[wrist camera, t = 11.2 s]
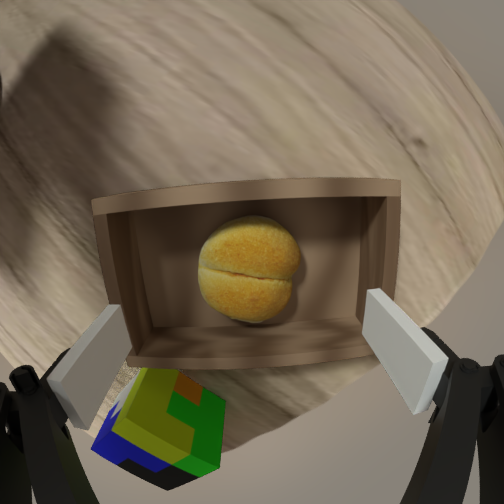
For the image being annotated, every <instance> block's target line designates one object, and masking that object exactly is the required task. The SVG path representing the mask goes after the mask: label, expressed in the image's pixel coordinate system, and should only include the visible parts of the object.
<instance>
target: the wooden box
mask: <svg viewBox="0 0 504 504" xmlns="http://www.w3.org/2000/svg"><path fill="white" fill-rule="evenodd" d="M91 204H92V212H93V220H94V227H95V234H96V240H97V246H98V252H99V258H100V263H101V268H102V273H103V278H104V282H105V287H106V291H107V295H108V300H109V304H110V305H121V308H122V312H123V316H124V320H125V324H126V327H127V331H128V334H129V338H130V341H131V344H132V348H131V350H130V352H129V354H128V355H127V357H126V362H127V365H128V367H141V368H158V369H189V370H218V369H250V368H268V367H281V366H293V365H303V364H313V363H321V362H329V361H337V360H344V359H350V358H357V357H363V356H369V355H374V354H375V353H374V352H373V350H372V348H371V347H370V345H369V344H368V342H367V341H366V339H365V338H364V336H363V335H362V329H363V321H364V314H365V305H366V296H367V290H369V289H377V288H380V289H381V290H382V291H383V292H384V293H385V294H386V295H387V296H388V297H389V298H390V299H391V300H392V301H393V300H394V293H395V284H396V275H397V265H398V253H399V238H400V214H401V180H394V179H380V178H288V179H265V180H247V181H232V182H218V183H207V184H196V185H185V186H176V187H167V188H158V189H150V190H142V191H135V192H128V193H121V194H116V195H111V196H105V197H100V198H95V199H91ZM250 215H257V216H263V217H267V218H270V219H272V220H275V221H276V222H278V223H279V224H280V225H281V226H283V227H284V228H285V229H286V230H287V231H288V232H289V233H290V234H291V235H292V236H293V238H294V239H295V241H296V243H297V244H298V246H299V248H300V252H301V261H300V265H299V267H298V269H297V271H296V272H295V273H294V274H292V278H291V279H292V293H291V297H290V299H289V301H288V303H287V305H286V306H285V308H284V309H283V310H282V311H281V312H280V313H279V314H277V315H276V316H274V317H272V318H270V319H267V320H263V321H262V322H261V323H250V322H246V321H241V320H237V319H231V318H230V317H228V316H225V315H224V314H222V313H220V312H218V311H216V310H215V309H213V308H212V307H210V306H209V305H208V304H207V302H206V301H205V300H204V298H203V296H202V294H201V291H200V287H199V282H198V266H199V256H200V252H201V249H202V247H203V245H204V243H205V242H206V240H207V239H208V238H209V236H210V235H211V234H212V233H213V232H214V231H215V230H216V229H218V227H220V226H221V225H223V224H224V223H226V222H228V221H231V220H234V219H237V218H240V217H245V216H250Z"/></svg>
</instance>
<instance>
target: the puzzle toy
mask: <svg viewBox="0 0 504 504" xmlns="http://www.w3.org/2000/svg"><path fill="white" fill-rule="evenodd" d="M225 403H226V401H225V400H223V399H221V398H220V397H218V396H217V395H215V394H213V393H212V392H210V391H208V390H207V389H205V388H204V387H202V386H201V385H199V384H197V383H196V382H194V381H193V380H191V379H190V378H188V377H187V376H185V375H184V374H182V373H181V372H179V371H178V370H177V369H158V368H142V369H141V370H140V371H139V372H138V373H137V374H136V375H135V376H134V378H133V379H132V380H131V381H130V382H129V383H128V384H127V385H126V386H125V387H124V389H123V390H122V391H121V392H120V393H119V394H118V396H117V398H116V399H115V401H114V403H113V405H112V407H111V409H110V411H109V413H108V415H107V417H106V419H105V421H104V423H103V425H102V427H101V429H100V431H99V433H98V435H97V437H96V439H95V441H94V443H93V445H92V447H91V450H92V451H94V452H96V453H97V454H99V455H100V456H102V457H103V458H105V459H107V460H108V461H110V462H112V463H114V464H116V465H117V466H119V467H121V468H122V469H124V470H126V471H128V472H130V473H132V474H134V475H136V476H137V477H139V478H141V479H143V480H145V481H147V482H149V483H152V484H154V485H156V486H158V487H160V488H162V489H165V490H167V491H168V490H171V489H174V488H176V487H179V486H181V485H183V484H186V483H188V482H190V481H193V480H195V479H197V478H200V477H202V476H204V475H206V474H208V473H210V472H212V471H215V470H216V469H219V468H220V460H221V448H222V437H223V425H224V414H225Z"/></svg>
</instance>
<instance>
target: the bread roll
mask: <svg viewBox="0 0 504 504" xmlns="http://www.w3.org/2000/svg"><path fill="white" fill-rule="evenodd" d="M300 261H301V252H300V248H299V246H298V244H297V243H296V241H295V239H294V238H293V236H292V235H291V234H290V233H289V232H288V231H287V230H286V229H285V228H284V227H283V226H281V225H280V224H279V223H278V222H276V221H275V220H272V219H270V218H267V217H263V216H257V215H250V216H245V217H240V218H237V219H234V220H231V221H228V222H226V223H224V224H223V225H221V226H220V227H218V229H216V230H215V231H214V232H213V233H212V234H211V235H210V236H209V238H208V239H207V240H206V242H205V243H204V245H203V247H202V249H201V252H200V256H199V266H198V282H199V287H200V291H201V294H202V296H203V298H204V300H205V301H206V302H207V304H208V305H209V306H210V307H212V308H213V309H215V310H216V311H218V312H220V313H222V314H224V315H225V316H228V317H230V318H231V319H237V320H241V321H246V322H250V323H261V322H262V321H263V320H267V319H270V318H272V317H274V316H276V315H277V314H279V313H280V312H281V311H282V310H283V309H284V308H285V306H286V305H287V303H288V301H289V299H290V297H291V293H292V279H291V278H292V274H294V273H295V272H296V271H297V269H298V267H299V265H300Z"/></svg>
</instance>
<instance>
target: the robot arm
mask: <svg viewBox="0 0 504 504" xmlns="http://www.w3.org/2000/svg"><path fill="white" fill-rule="evenodd" d="M362 335H363V336H364V338H365V339H366V341H367V342H368V344H369V345H370V347H371V348H372V350H373V352H374V353H375V355H376V356H377V358H378V359H379V361H380V362H381V364H382V366H383V367H384V369H385V370H386V372H387V373H388V375H389V377H390V378H391V380H392V381H393V383H394V385H395V386H396V388H397V389H398V391H399V393H400V394H401V396H402V398H403V399H404V401H405V402H406V404H407V406H408V408H409V409H410V411H411V412H412V414H413V415H414V414H417V413H420V412H423V411H426V410H428V408H429V406H430V404H431V402H432V400H433V401H434V402H435V404H436V405H437V406H436V408H435V410H434V412H433V414H432V416H431V418H430V420H429V422H428V423H430V427H429V430H428V433H427V437H426V440H425V443H424V446H423V449H422V452H421V455H420V457H419V460H418V463H417V465H416V468H415V471H414V473H413V475H412V478H411V481H410V483H409V485H408V487H407V490H406V492H405V494H404V496H403V498H402V500H401V502H400V504H462V502H463V499H464V496H465V492H466V488H467V485H468V480H469V476H470V472H471V467H472V462H473V457H474V451H475V445H476V440H477V446H478V458H479V475H480V504H504V355H498V356H497V357H495V360H494V362H493V364H492V366H483V367H481V366H480V365H479V364H478V363H477V362H476V361H474V360H471V359H469V358H462V359H460V358H459V357H458V356H457V355H456V354H455V353H454V352H453V351H452V350H451V349H450V348H449V347H448V346H447V345H446V344H444V342H443V341H442V340H441V339H439V337H438V336H437V335H436V334H435V333H434V332H433V331H431V330H429V329H427V328H425V327H422V328H419V327H418V325H417V324H416V323H415V322H414V321H413V320H412V319H411V318H410V317H409V316H408V315H407V314H406V313H405V312H404V311H403V310H402V309H401V308H400V307H399V306H398V305H397V304H395V303H394V302H393V301H392V300H391V299H390V298H389V297H388V296H387V295H386V294H385V293H384V292H383V291H382V290H381V289H380V288H377V289H369V290H367V296H366V305H365V314H364V321H363V329H362ZM131 348H132V344H131V341H130V338H129V334H128V331H127V327H126V324H125V320H124V316H123V312H122V308H121V305H108V306H107V307H106V308H105V309H104V310H103V311H102V313H101V314H100V315H99V316H98V317H97V318H96V319H95V321H94V322H93V323H92V324H91V325H90V326H89V327H88V329H87V330H86V331H85V332H84V333H83V334H82V336H81V337H80V338H79V339H78V340H77V342H76V343H75V344H74V345H73V346H72V348H68V349H67V350H65V351H64V352H63V353H61V354H60V356H59V357H58V358H57V359H56V361H55V362H54V363H53V364H52V366H50V368H49V369H48V370H47V371H46V373H45V374H44V375H43V376H42V378H41V379H40V380H39V378H38V376H37V374H36V372H35V370H34V368H33V367H32V366H30V365H23V366H20V367H17V368H16V369H14V370H13V371H12V372H11V374H10V376H9V379H10V381H11V383H12V385H13V386H14V388H15V390H16V391H9V390H8V388H7V386H6V385H5V383H2V382H0V504H32V489H33V492H34V496H35V499H36V502H37V504H99V502H98V500H97V498H96V496H95V494H94V492H93V490H92V487H91V485H90V483H89V481H88V479H87V476H86V474H85V472H84V469H83V467H82V465H81V462H80V460H79V457H78V455H77V452H76V449H75V447H74V444H73V441H72V438H71V435H70V432H69V429H68V427H67V426H66V424H65V423H66V421H67V419H68V418H69V420H70V421H71V423H72V424H73V426H74V427H76V428H80V429H84V430H89V428H90V426H91V424H92V422H93V420H94V418H95V416H96V414H97V412H98V410H99V408H100V406H101V404H102V402H103V400H104V398H105V396H106V394H107V392H108V390H109V389H110V387H111V385H112V383H113V381H114V379H115V377H116V376H117V374H118V372H119V370H120V368H121V366H122V365H123V363H124V361H125V359H126V357H127V355H128V354H129V352H130V350H131ZM5 426H6V427H7V429H8V432H7V433H6V429H5ZM31 485H32V488H31Z"/></svg>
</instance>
